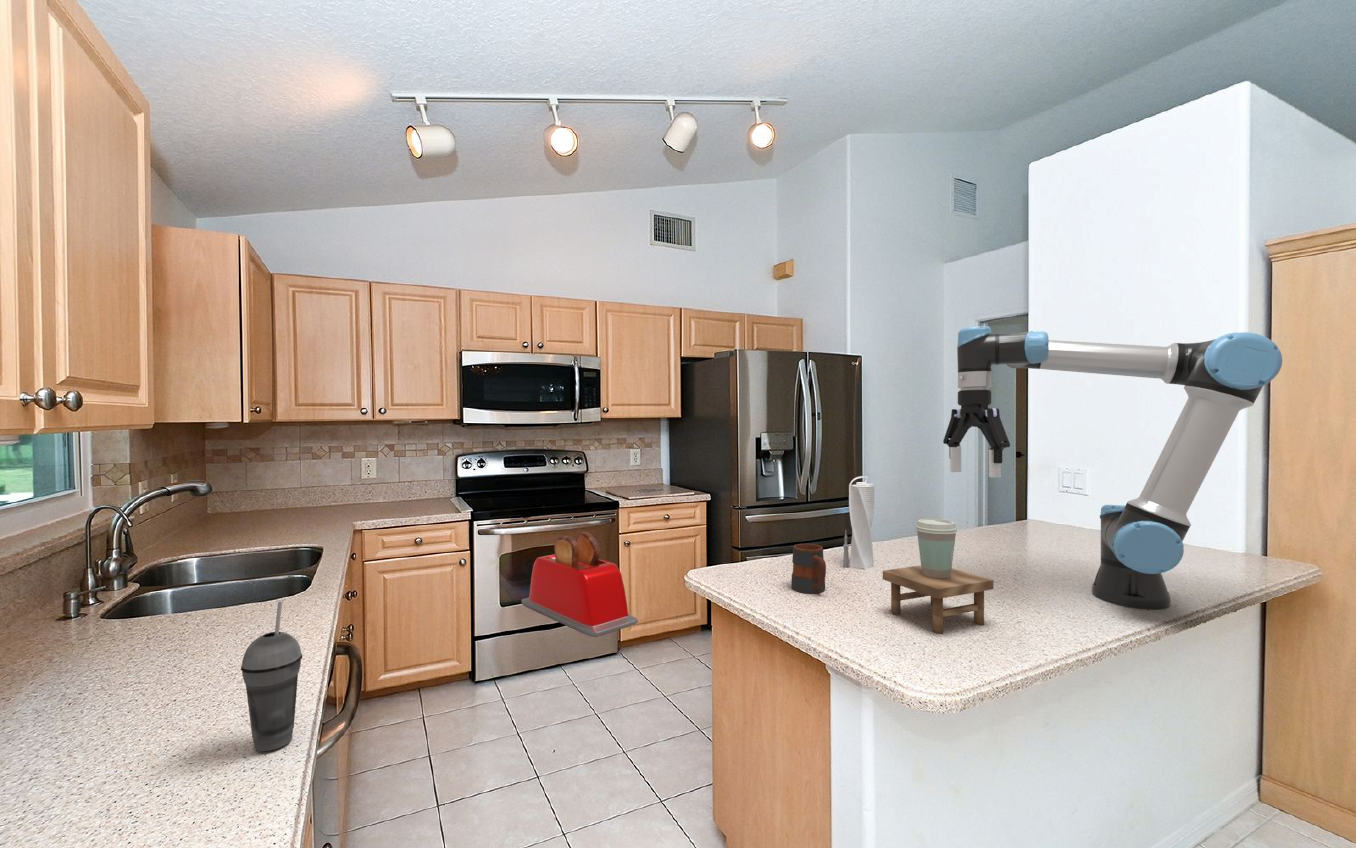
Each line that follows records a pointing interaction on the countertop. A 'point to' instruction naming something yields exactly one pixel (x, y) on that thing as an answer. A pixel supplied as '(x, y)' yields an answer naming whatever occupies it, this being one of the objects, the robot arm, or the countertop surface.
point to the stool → (938, 592)
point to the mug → (808, 569)
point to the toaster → (579, 588)
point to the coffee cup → (936, 546)
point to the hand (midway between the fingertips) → (974, 474)
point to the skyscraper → (860, 525)
